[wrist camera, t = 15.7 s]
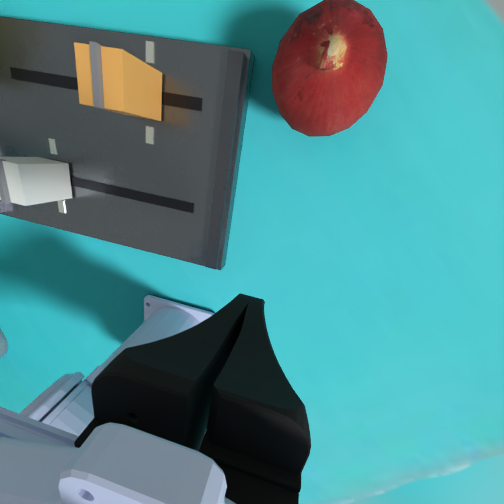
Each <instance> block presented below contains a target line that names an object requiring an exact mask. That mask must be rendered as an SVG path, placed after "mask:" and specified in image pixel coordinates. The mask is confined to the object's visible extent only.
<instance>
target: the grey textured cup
mask: <svg viewBox="0 0 504 504" xmlns="http://www.w3.org/2000/svg"><path fill="white" fill-rule="evenodd" d="M7 347H8V345H7V341H6V338H5V336H4V334H3V332H2V331H1V329H0V358H1V357H2V356H3V355H4V354H6V352H7Z"/></svg>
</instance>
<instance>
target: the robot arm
mask: <svg viewBox="0 0 504 504" xmlns="http://www.w3.org/2000/svg"><path fill="white" fill-rule="evenodd" d="M264 303H265V302H264V300H263V299H259V298H255V297H251V296H248V295H244V294H239V295H237V296H236V297H235V298H234V299H233V300H232V301H231V302H229V303H228V304H227V305H226V306H224V307H223V308H222V309H220V310H219V311H218V312H216V313H212V312H209V311H205V310H202V309H198V308H194V307H191V306H187V305H184V304H180V303H177V302H173V301H169V300H166V299H162V298H159V297H155V296H152V295H147V296H146V297H145V298H144V322H143V323H142V324H141V325H140V326H139V327H138V328H137V329H136V330H135V331H134V332H133V333H132V334H131V335H130V336H129V337H128V338H127V339H126V340H125V341H124V342H123V343H122V344H121V345H120V346H119V347H118V348H117V349H116V350H115V351H114V352H113V353H112V354H111V356H110V357H109V358H108V359H107V360H106V361H105V362H104V363H103V364H102V365H101V366H98V367H97V368H96V369H95V370H94V371H93V372H92V373H91V374H90V375H89V376H88V377H87V378H86V379H85V380H84V381H82V379H83V378H84V375H83V374H82V373H81V372H76V373H74V374H73V373H72V374H66V375H64V376H62V377H61V378H60V379H58V380H57V381H56V382H55V383H53V384H52V385H51V386H50V387H49V388H47V389H46V390H45V391H44V392H43V393H42V394H41V395H39V396H38V397H37V398H36V399H35V400H34V401H33V402H32V403H30V404H29V405H28V406H27V407H26V408H25V409H24V410H23V411H22V412H21V413H19V414H18V413H16V412H13V411H10V410H8V409H5V408H2V407H0V504H298V498H299V492H300V489H301V472H302V470H303V468H304V465H305V463H306V461H307V459H308V456H309V454H310V449H311V439H310V430H309V424H308V418H307V414H306V409H305V405H304V404H303V402H302V401H301V400H300V398H299V397H298V395H297V394H296V393H295V391H294V390H293V388H292V387H291V385H290V383H289V382H288V380H287V378H286V376H285V375H284V373H283V371H282V369H281V367H280V365H279V363H278V361H277V358H276V356H275V354H274V351H273V348H272V346H271V343H270V339H269V336H268V332H267V328H266V323H265V316H264ZM205 432H206V433H205Z"/></svg>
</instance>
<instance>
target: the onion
mask: <svg viewBox="0 0 504 504" xmlns="http://www.w3.org/2000/svg"><path fill="white" fill-rule="evenodd" d="M386 63H387V50H386V44H385V38H384V33H383V29H382V27H381V25H380V24H379V22H378V21H377V19H376V18H375V16H374V15H373V13H372V12H371V10H370V9H368V8H366V7H365V6H363V5H361V4H359V3H358V2H356V1H354V0H324V1H322V2H320V3H318V4H317V5H315V6H313V7H311V8H310V9H308V10H306V11H304V12H303V13H301V14H299V16H298V17H297V18H296V20H295V21H294V23H293V24H292V26H291V27H290V28H289V30H288V31H287V32H286V34H285V35H284V37H283V38H282V39H281V41H280V44H279V47H278V50H277V54H276V57H275V60H274V64H273V67H272V92H273V94H274V97H275V100H276V103H277V106H278V109H279V112H280V114H281V116H282V117H283V118H284V119H285V120H286V122H287V123H288V124H289V125H290V127H291V128H292V129H294V130H296V131H299V132H301V133H303V134H305V135H307V136H330V135H333V134H335V133H338V132H340V131H343V130H345V129H347V128H349V127H351V126H352V125H353V124H354V123H355V122H356V121H357V120H358V119H360V118H361V117H362V116H363V115H364V114H365V113H366V112H367V111H368V109H369V108H370V106H371V104H372V103H373V101H374V99H375V97H376V96H377V94H378V92H379V90H380V89H381V87H382V85H383V80H384V74H385V69H386Z"/></svg>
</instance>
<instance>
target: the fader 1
mask: <svg viewBox="0 0 504 504" xmlns="http://www.w3.org/2000/svg"><path fill="white" fill-rule="evenodd" d="M70 198H72V190H71V182H70V173H69V165H68V163H64V162H60V161H55V160H50V159H46V158H41V157H0V200H1V202H2V203H5V204H8V203H16V204H20V205H24V206H28V205H34V204H40V203H46V202H52V201H58V200H64V199H70Z"/></svg>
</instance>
